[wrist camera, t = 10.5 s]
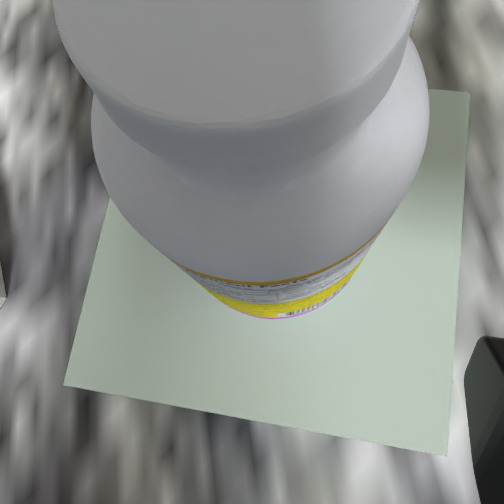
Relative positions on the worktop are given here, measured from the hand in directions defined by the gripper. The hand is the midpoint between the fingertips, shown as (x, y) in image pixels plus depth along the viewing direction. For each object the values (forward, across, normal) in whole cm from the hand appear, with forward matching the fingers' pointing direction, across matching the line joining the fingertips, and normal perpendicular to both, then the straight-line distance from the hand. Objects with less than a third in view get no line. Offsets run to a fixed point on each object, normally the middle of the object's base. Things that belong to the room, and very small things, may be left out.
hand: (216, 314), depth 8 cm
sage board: (+10, 0, +4) cm, 11 cm away
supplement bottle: (+10, 0, +4) cm, 10 cm away
